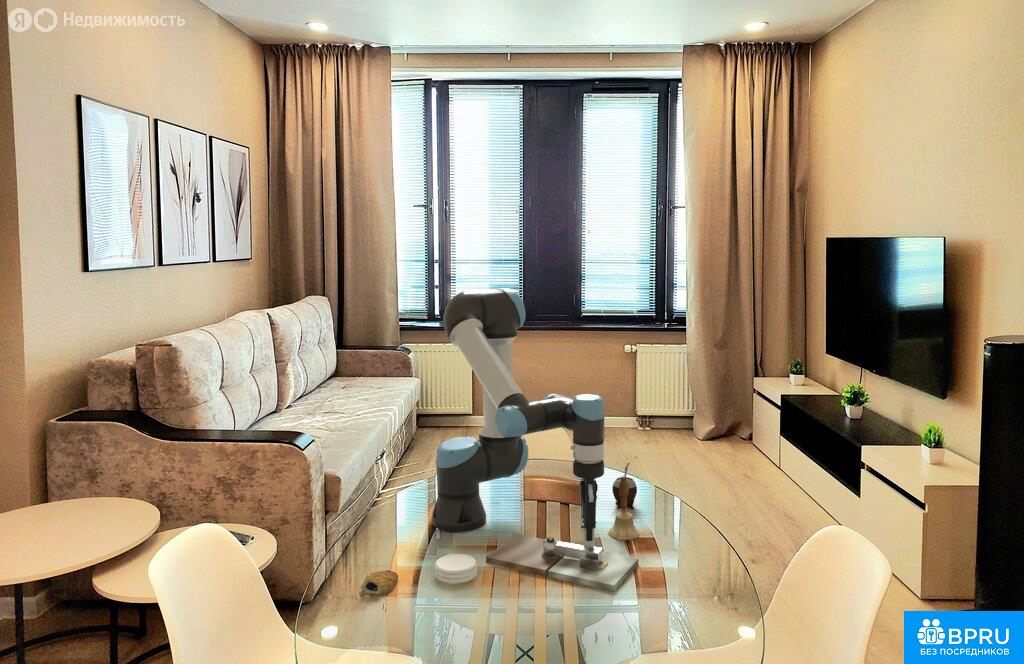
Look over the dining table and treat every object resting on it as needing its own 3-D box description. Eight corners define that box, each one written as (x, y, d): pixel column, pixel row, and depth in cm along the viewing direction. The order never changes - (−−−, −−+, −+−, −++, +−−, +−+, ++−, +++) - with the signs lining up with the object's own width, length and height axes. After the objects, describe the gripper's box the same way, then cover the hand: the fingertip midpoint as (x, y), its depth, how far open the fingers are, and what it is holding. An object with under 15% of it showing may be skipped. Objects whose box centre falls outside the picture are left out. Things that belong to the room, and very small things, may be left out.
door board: (485, 562, 202) (485, 548, 202) (516, 539, 216) (516, 525, 216) (613, 591, 186) (613, 575, 185) (638, 564, 200) (638, 549, 199)
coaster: (439, 587, 190) (439, 573, 189) (431, 569, 199) (431, 556, 199) (481, 581, 193) (481, 567, 192) (471, 564, 202) (471, 550, 202)
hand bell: (638, 541, 214) (639, 482, 211) (607, 539, 215) (607, 481, 213) (640, 528, 222) (640, 472, 219) (609, 527, 223) (609, 471, 221)
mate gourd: (622, 500, 243) (622, 451, 241) (644, 506, 238) (644, 456, 236) (606, 506, 238) (606, 457, 236) (628, 513, 233) (629, 462, 230)
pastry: (382, 576, 197) (381, 561, 196) (405, 581, 194) (405, 566, 193) (359, 592, 188) (358, 577, 188) (383, 598, 185) (383, 582, 185)
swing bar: (541, 554, 201) (541, 540, 201) (546, 548, 204) (546, 535, 204) (597, 564, 195) (597, 550, 194) (602, 558, 198) (602, 544, 198)
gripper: (570, 451, 203) (571, 540, 207) (575, 467, 190) (575, 563, 194) (600, 450, 203) (600, 540, 207) (607, 467, 190) (607, 562, 194)
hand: (588, 551), depth 200 cm, fingers closed
